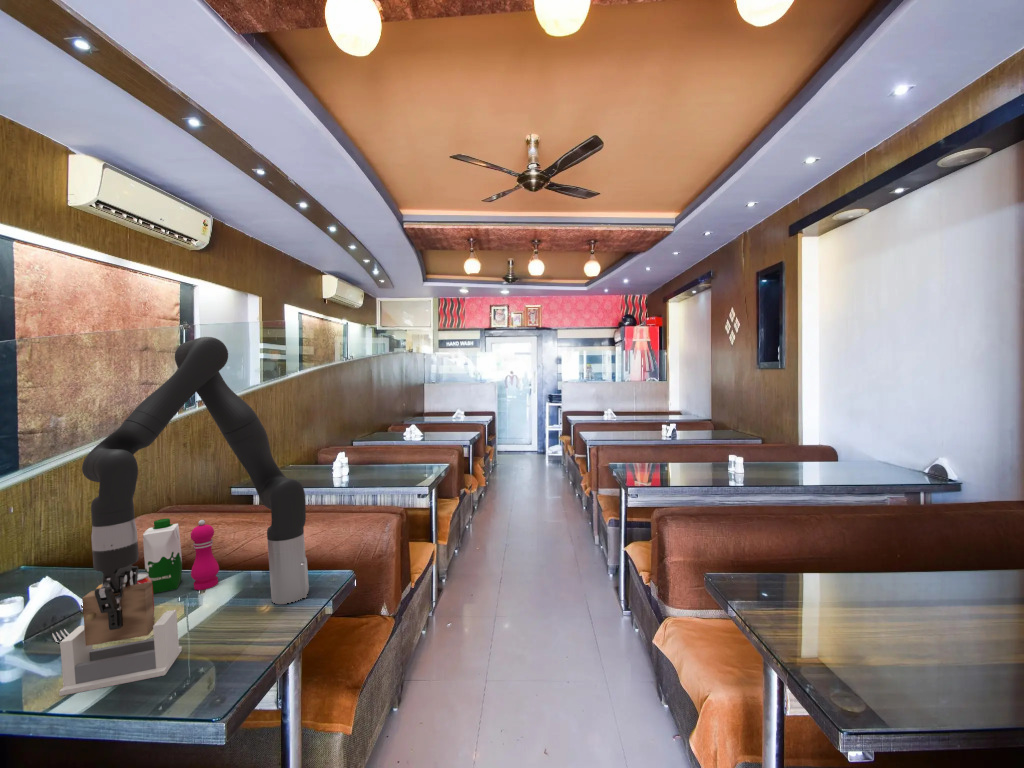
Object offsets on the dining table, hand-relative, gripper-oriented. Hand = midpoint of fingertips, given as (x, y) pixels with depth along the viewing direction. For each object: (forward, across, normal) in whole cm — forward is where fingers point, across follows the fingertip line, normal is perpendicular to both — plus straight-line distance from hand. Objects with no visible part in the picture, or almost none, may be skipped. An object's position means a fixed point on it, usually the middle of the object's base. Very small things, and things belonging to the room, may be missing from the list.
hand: (120, 623), depth 105 cm
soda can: (+11, +25, +7) cm, 28 cm away
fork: (+11, +16, +16) cm, 25 cm away
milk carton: (+10, +49, +9) cm, 51 cm away
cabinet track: (+10, 0, 0) cm, 10 cm away
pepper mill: (+10, +45, -3) cm, 46 cm away
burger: (+11, +43, +21) cm, 49 cm away
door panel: (+3, 0, 0) cm, 3 cm away
